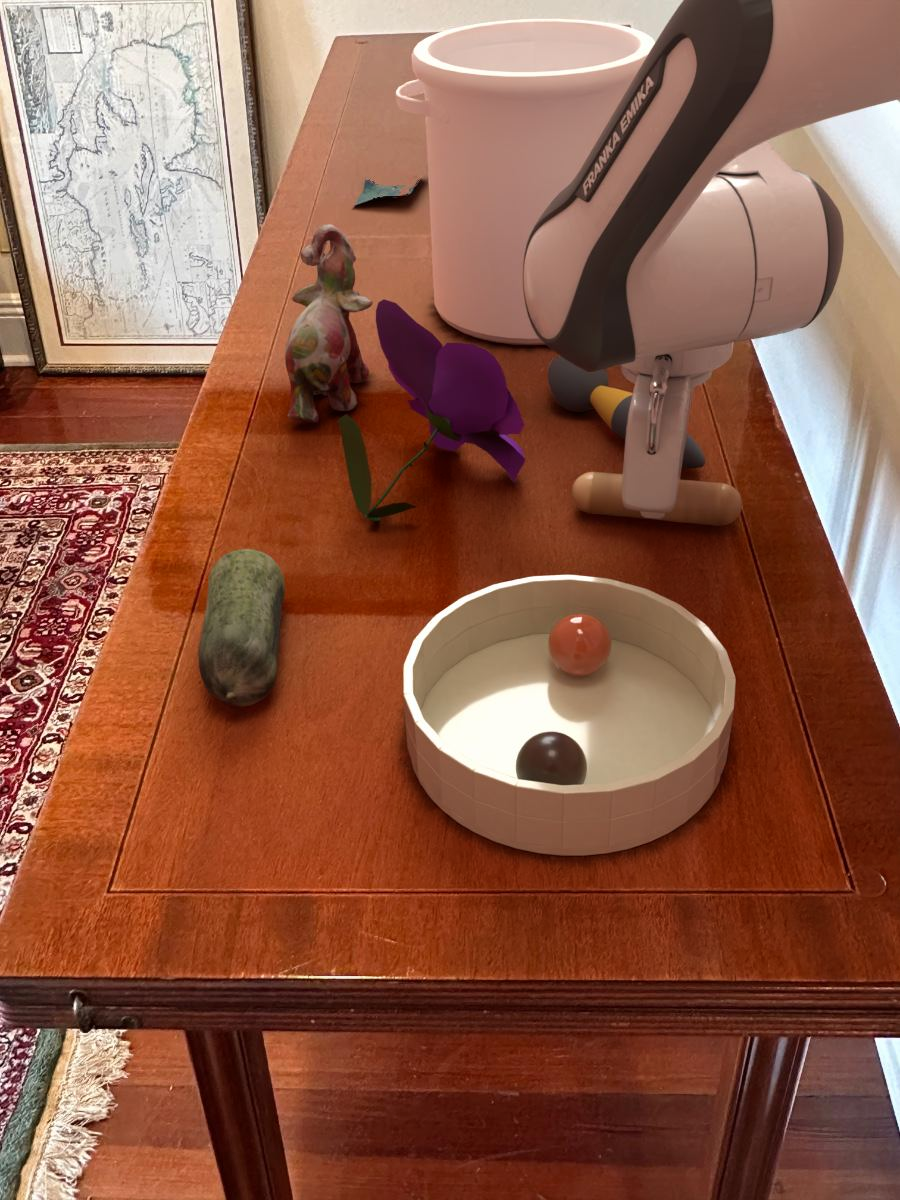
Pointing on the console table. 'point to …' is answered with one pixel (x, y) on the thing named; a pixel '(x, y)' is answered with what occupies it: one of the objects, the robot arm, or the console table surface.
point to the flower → (438, 402)
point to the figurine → (326, 330)
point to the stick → (692, 506)
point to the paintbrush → (602, 401)
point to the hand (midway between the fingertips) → (656, 497)
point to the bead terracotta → (579, 644)
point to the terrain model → (378, 191)
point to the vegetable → (241, 627)
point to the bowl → (568, 714)
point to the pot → (508, 148)
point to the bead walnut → (552, 760)
